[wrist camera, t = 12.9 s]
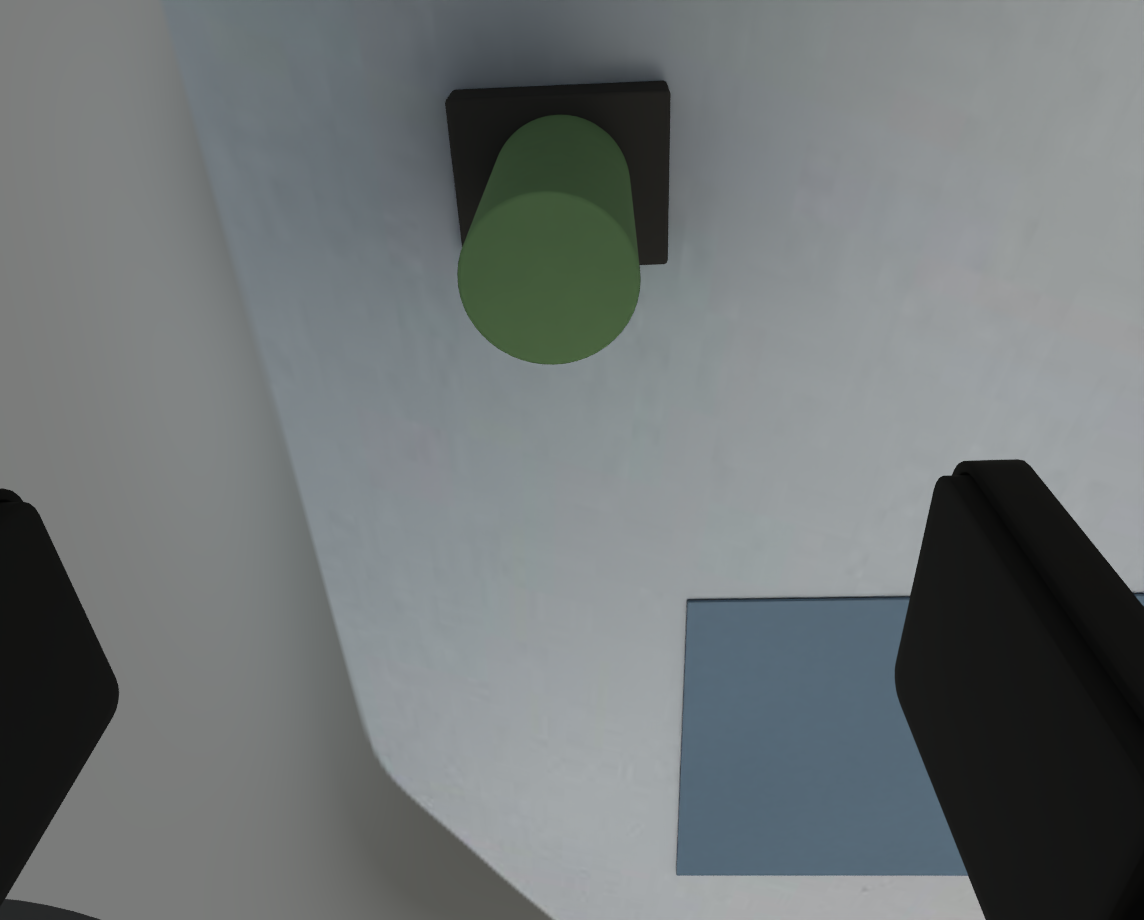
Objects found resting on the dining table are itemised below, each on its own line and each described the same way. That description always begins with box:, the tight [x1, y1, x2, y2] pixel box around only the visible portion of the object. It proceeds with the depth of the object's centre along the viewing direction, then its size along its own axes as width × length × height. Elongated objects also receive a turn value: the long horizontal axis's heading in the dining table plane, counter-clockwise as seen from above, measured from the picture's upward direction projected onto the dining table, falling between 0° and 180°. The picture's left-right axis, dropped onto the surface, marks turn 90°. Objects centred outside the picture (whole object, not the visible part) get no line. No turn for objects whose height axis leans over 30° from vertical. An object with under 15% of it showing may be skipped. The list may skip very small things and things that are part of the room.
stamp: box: [445, 81, 670, 364], centre depth 18 cm, size 5×4×7 cm
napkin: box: [676, 594, 1144, 876], centre depth 32 cm, size 21×16×1 cm
